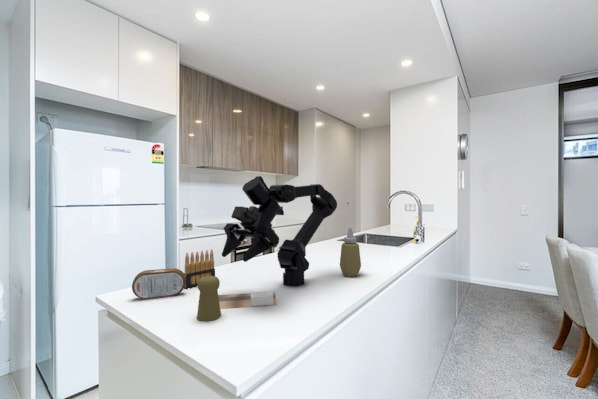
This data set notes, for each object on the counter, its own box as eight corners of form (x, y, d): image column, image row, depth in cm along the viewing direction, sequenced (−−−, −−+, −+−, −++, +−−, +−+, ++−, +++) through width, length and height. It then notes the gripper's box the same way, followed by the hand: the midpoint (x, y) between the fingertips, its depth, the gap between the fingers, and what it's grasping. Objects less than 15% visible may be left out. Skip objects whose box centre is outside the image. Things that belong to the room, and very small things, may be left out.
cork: (199, 316, 74) (199, 274, 74) (223, 315, 74) (223, 273, 74) (193, 327, 68) (192, 281, 68) (219, 326, 68) (218, 280, 68)
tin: (186, 292, 93) (185, 266, 93) (186, 295, 90) (185, 268, 90) (133, 298, 88) (132, 271, 88) (131, 302, 85) (130, 273, 85)
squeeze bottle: (364, 273, 112) (364, 227, 111) (356, 279, 105) (356, 230, 104) (344, 270, 116) (344, 226, 115) (336, 276, 109) (335, 229, 108)
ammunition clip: (185, 289, 96) (185, 253, 96) (183, 288, 97) (183, 252, 97) (215, 282, 103) (215, 249, 103) (213, 281, 104) (212, 248, 104)
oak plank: (274, 295, 89) (274, 291, 89) (277, 309, 78) (277, 305, 78) (207, 299, 86) (207, 295, 86) (200, 314, 75) (200, 310, 75)
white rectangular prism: (272, 299, 82) (272, 291, 82) (273, 304, 78) (273, 296, 78) (251, 300, 81) (251, 292, 81) (250, 306, 77) (250, 297, 77)
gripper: (229, 196, 88) (195, 236, 79) (272, 196, 76) (237, 242, 67) (249, 221, 94) (219, 260, 85) (291, 224, 82) (262, 270, 73)
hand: (232, 258), depth 77 cm, fingers open, 9 cm apart
